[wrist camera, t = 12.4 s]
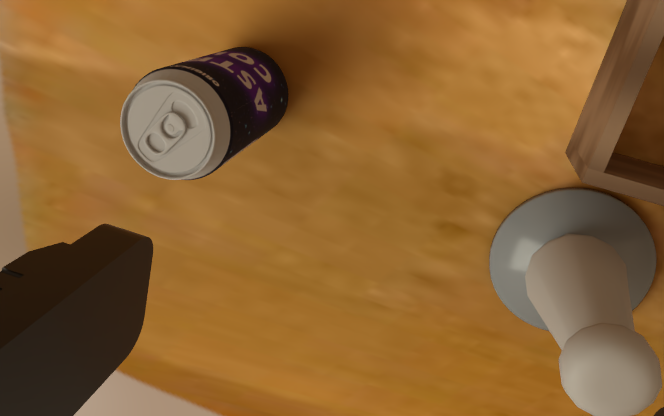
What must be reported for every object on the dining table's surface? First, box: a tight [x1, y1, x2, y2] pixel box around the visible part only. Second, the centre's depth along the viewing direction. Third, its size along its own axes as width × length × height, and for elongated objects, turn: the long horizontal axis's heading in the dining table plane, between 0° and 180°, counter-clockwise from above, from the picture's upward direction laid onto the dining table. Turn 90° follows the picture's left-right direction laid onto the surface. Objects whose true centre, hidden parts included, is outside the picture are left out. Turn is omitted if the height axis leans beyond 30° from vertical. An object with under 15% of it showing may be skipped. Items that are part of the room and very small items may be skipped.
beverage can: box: [120, 47, 288, 180], centre depth 34 cm, size 6×6×12 cm
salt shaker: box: [525, 234, 662, 416], centre depth 33 cm, size 6×6×13 cm
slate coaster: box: [489, 188, 656, 331], centre depth 39 cm, size 10×10×1 cm
